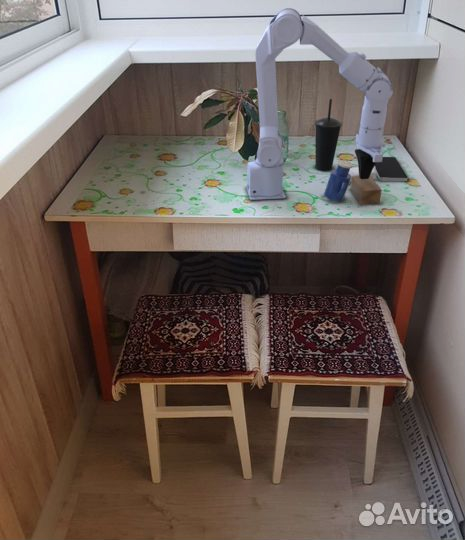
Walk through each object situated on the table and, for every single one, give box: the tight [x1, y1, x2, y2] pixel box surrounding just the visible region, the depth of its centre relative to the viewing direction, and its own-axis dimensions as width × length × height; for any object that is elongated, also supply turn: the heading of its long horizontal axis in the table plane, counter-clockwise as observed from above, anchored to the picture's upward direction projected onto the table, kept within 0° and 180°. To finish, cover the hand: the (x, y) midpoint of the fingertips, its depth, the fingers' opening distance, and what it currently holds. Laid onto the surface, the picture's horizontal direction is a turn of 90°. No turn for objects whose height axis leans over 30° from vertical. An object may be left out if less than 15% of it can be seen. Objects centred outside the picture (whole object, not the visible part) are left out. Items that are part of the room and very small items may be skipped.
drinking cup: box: [314, 98, 343, 172], centre depth 144 cm, size 8×8×20 cm
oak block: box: [349, 176, 382, 206], centre depth 132 cm, size 5×9×4 cm, turn 6°
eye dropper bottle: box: [349, 166, 377, 184], centre depth 141 cm, size 4×6×12 cm
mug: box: [323, 159, 354, 202], centre depth 129 cm, size 9×7×10 cm
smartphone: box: [374, 156, 409, 182], centre depth 147 cm, size 8×1×15 cm
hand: (363, 178), depth 130 cm, fingers closed
